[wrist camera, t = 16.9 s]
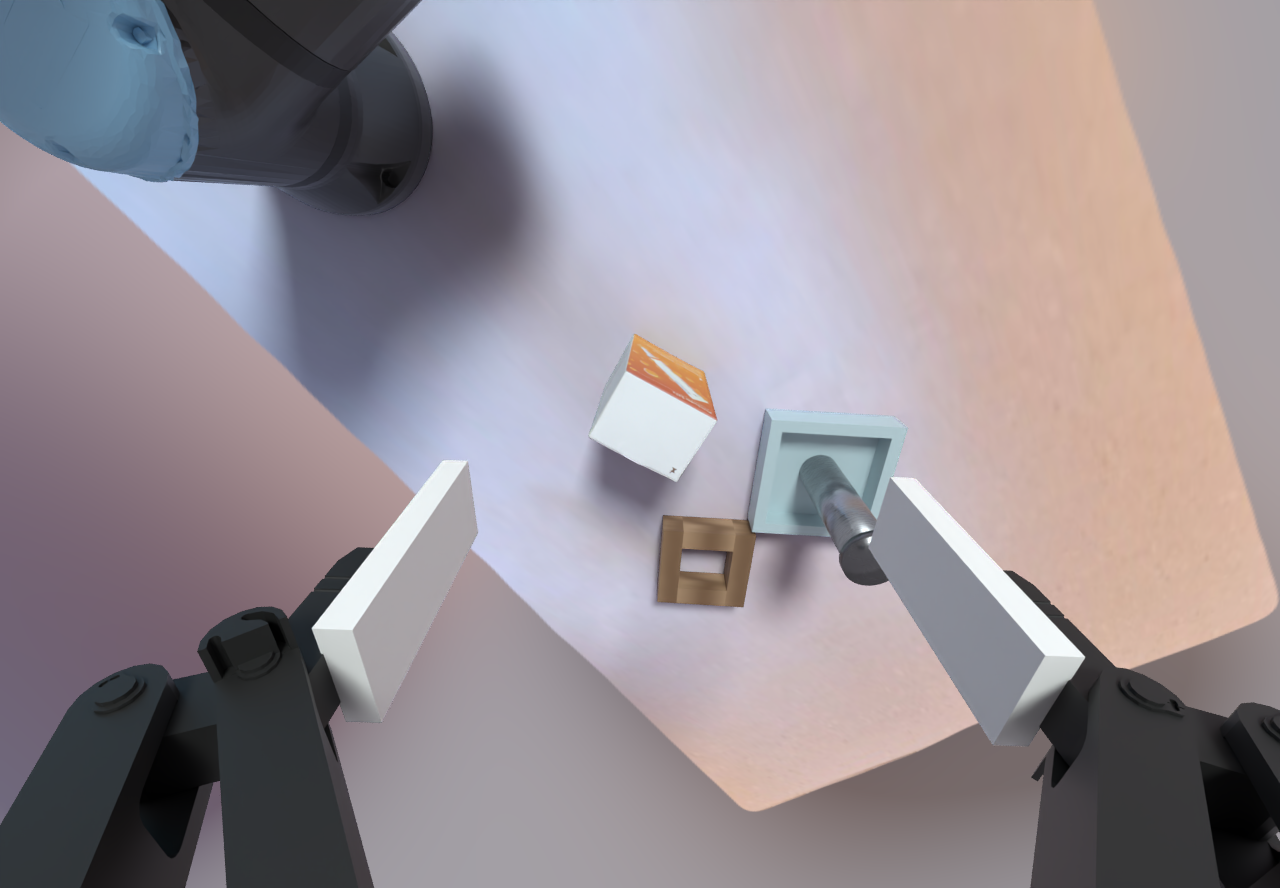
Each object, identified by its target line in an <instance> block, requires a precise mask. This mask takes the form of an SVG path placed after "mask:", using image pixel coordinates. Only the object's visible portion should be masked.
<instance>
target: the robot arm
mask: <svg viewBox="0 0 1280 888" xmlns="http://www.w3.org/2000/svg"><path fill="white" fill-rule="evenodd" d="M421 1H422V0H0V122H1V123H3V124H4V125H5V126H6V127H8V128H9V129H10V130H12V131H13V132H15V133H16V134H17V135H19V136H20V137H22V138H23V139H25V140H27V141H28V142H30V143H32V144H33V145H35V146H36V147H38V148H40V149H42V150H43V151H45V152H47V153H49V154H51V155H54V156H55V157H57V158H60V159H62V160H64V161H67V162H70V163H73V164H76V165H78V166H81V167H85V168H89V169H93V170H98V171H105V172H112V173H119V174H126V175H130V176H133V177H137V178H140V179H143V180H146V181H150V182H167V181H168V180H171V181H189V182H206V183H224V184H241V185H259V186H271V187H276V188H278V189H280V190H281V191H283V192H285V193H287V194H288V195H290V196H292V197H294V198H296V199H297V200H299V201H301V202H303V203H305V204H307V205H309V206H311V207H314V208H316V209H319V210H322V211H326V212H330V213H334V214H341V215H371V214H377V213H381V212H384V211H386V210H389V209H391V208H393V207H395V206H396V205H398V204H400V203H401V202H402V201H404V200H405V199H406V198H407V197H408V196H409V195H410V194H411V193H412V192H413V190H414V189H415V188H416V186H417V185H418V183H419V182H420V180H421V178H422V176H423V174H424V172H425V169H426V166H427V163H428V160H429V156H430V150H431V143H432V121H431V113H430V107H429V102H428V98H427V94H426V91H425V88H424V85H423V82H422V80H421V77H420V75H419V73H418V70H417V68H416V66H415V64H414V63H413V61H412V59H411V57H410V56H409V54H408V52H407V51H406V49H405V48H404V46H403V45H402V44H401V42H400V41H399V40H398V39H397V37H396V36H395V35H394V34H393V33H392V31H393V30H394V29H395V28H396V26H397V25H398V24H399V23H400V22H401V21H402V20H403V19H404V18H405V17H406V16H407V15H408V14H409V13H410V12H411V11H412V10H413V9H414V8H415V7H416V6H417V5H418V4H419V3H420V2H421ZM477 534H478V530H477V523H476V515H475V508H474V501H473V494H472V487H471V480H470V472H469V465H468V461H455V460H443V461H442V462H441V463H440V465H439V466H438V467H437V469H436V470H435V471H434V472H433V474H432V475H431V476H430V478H429V479H428V480H427V481H426V483H425V484H424V485H423V487H422V488H421V489H420V490H419V492H418V493H417V494H416V496H415V497H414V498H413V499H412V501H411V502H410V503H409V505H408V506H407V507H406V508H405V510H404V511H403V512H402V513H401V515H400V516H399V517H398V519H397V520H396V521H395V522H394V524H393V525H392V526H391V528H390V529H389V530H388V531H387V533H386V534H385V535H384V537H383V538H382V539H381V540H380V542H379V543H378V544H377V546H376V547H375V548H360V547H358V548H356V549H355V550H353V551H352V552H350V553H349V554H347V555H346V556H344V557H343V558H341V559H340V560H338V561H337V563H336V564H335V565H334V566H333V567H332V568H331V569H330V571H329V572H328V573H327V574H326V575H325V579H322V580H321V581H320V582H319V583H318V585H317V586H316V587H315V588H314V592H311V593H310V594H309V595H308V596H307V598H306V599H305V600H304V601H303V602H302V603H301V605H300V606H299V607H298V608H297V609H296V610H295V612H294V613H293V614H292V615H291V616H290V617H289V619H288V618H287V616H286V615H285V613H284V612H283V611H282V610H280V609H278V608H274V607H256V608H253V609H249V610H245V611H242V612H240V613H237V614H235V615H233V616H231V617H229V618H227V619H225V620H223V621H222V622H220V623H219V624H218V625H216V626H215V627H213V628H212V629H211V630H210V631H209V632H208V633H207V634H206V635H205V637H204V638H203V639H202V640H201V641H200V645H199V648H198V651H197V652H198V653H199V656H200V657H201V659H202V661H203V663H204V665H205V667H206V669H207V671H208V672H206V673H201V674H197V675H193V676H188V677H183V678H179V679H174V680H172V678H171V676H170V675H169V673H168V671H167V670H166V669H165V668H164V667H163V666H161V665H155V664H144V665H138V666H133V667H130V668H127V669H124V670H121V671H119V672H116V673H114V674H112V675H110V676H108V677H106V678H105V679H103V680H101V681H99V682H97V683H96V684H94V685H93V686H92V687H90V688H89V689H88V690H87V691H85V692H84V693H83V694H81V695H80V696H79V697H78V698H77V699H76V701H75V702H74V703H73V704H72V705H71V707H70V708H69V709H68V711H67V712H66V714H65V716H64V717H63V719H62V721H61V722H60V724H59V726H58V728H57V729H56V731H55V733H54V734H53V736H52V738H51V740H50V741H49V743H48V745H47V746H46V748H45V750H44V751H43V753H42V755H41V757H40V759H39V760H38V762H37V763H36V765H35V767H34V769H33V770H32V772H31V774H30V775H29V777H28V779H27V781H26V782H25V784H24V786H23V787H22V789H21V791H20V792H19V794H18V796H17V798H16V799H15V801H14V803H13V804H12V806H11V808H10V810H9V811H8V813H7V815H6V816H5V818H4V820H3V821H2V823H1V825H0V888H185V886H186V881H187V878H188V875H189V871H190V867H191V864H192V860H193V856H194V852H195V849H196V845H197V841H198V838H199V834H200V830H201V826H202V823H203V819H204V815H205V811H206V808H207V804H208V801H209V797H210V793H211V790H212V786H213V782H217V781H220V788H221V803H222V820H223V836H224V851H225V868H226V885H227V888H374V886H373V882H372V878H371V875H370V871H369V867H368V864H367V860H366V856H365V852H364V849H363V845H362V841H361V837H360V834H359V830H358V827H357V823H356V819H355V815H354V811H353V808H352V804H351V801H350V797H349V793H348V789H347V785H346V782H345V778H344V774H343V771H342V767H341V763H340V760H339V756H338V752H337V749H336V745H335V741H334V737H333V734H332V730H331V727H330V725H329V721H330V719H331V717H332V716H333V714H334V712H335V711H336V709H337V707H338V706H339V704H340V707H341V709H342V712H343V715H344V718H345V720H346V722H372V723H382V721H383V720H384V718H385V716H386V714H387V712H388V710H389V707H390V706H391V704H392V702H393V700H394V698H395V696H396V694H397V692H398V690H399V688H400V686H401V684H402V682H403V680H404V678H405V676H406V674H407V672H408V670H409V668H410V666H411V664H412V662H413V660H414V658H415V656H416V654H417V652H418V650H419V648H420V646H421V645H422V643H423V641H424V639H425V637H426V635H427V633H428V630H429V629H430V627H431V625H432V623H433V621H434V619H435V617H436V615H437V613H438V611H439V609H440V607H441V605H442V603H443V601H444V599H445V597H446V595H447V593H448V591H449V589H450V587H451V585H452V583H453V581H454V579H455V577H456V575H457V573H458V571H459V569H460V568H461V565H462V564H463V562H464V559H465V558H466V556H467V554H468V552H469V550H470V548H471V546H472V544H473V542H474V540H475V538H476V536H477ZM868 548H869V550H870V551H871V553H872V554H873V556H874V558H875V559H876V561H877V562H878V564H879V565H880V567H881V569H882V570H883V572H884V573H885V575H886V577H887V578H888V580H889V581H890V583H891V584H892V586H893V588H894V589H895V591H896V592H897V594H898V596H899V597H900V599H901V600H902V602H903V603H904V605H905V607H906V608H907V610H908V611H909V613H910V615H911V616H912V618H913V619H914V621H915V623H916V624H917V626H918V627H919V629H920V630H921V632H922V634H923V635H924V637H925V638H926V640H927V642H928V643H929V645H930V646H931V648H932V649H933V651H934V653H935V654H936V656H937V657H938V659H939V661H940V662H941V664H942V665H943V667H944V668H945V670H946V672H947V673H948V675H949V676H950V678H951V680H952V681H953V683H954V684H955V686H956V688H957V689H958V691H959V692H960V694H961V695H962V697H963V699H964V700H965V702H966V703H967V705H968V707H969V708H970V710H971V711H972V713H973V714H974V716H975V718H976V719H977V721H978V722H979V724H980V726H981V727H982V729H983V730H984V732H985V733H986V735H987V737H988V738H989V740H990V741H991V743H992V745H1003V746H1004V745H1005V746H1029V745H1030V743H1031V741H1032V740H1033V738H1034V737H1035V735H1036V734H1037V732H1038V731H1039V729H1040V728H1041V729H1042V731H1043V732H1044V733H1045V735H1046V736H1047V738H1049V740H1050V742H1051V743H1052V744H1053V745H1052V746H1051V748H1050V749H1049V751H1048V752H1047V754H1046V755H1045V757H1044V758H1043V760H1042V761H1041V763H1040V764H1039V766H1038V767H1037V769H1036V770H1035V772H1034V774H1033V775H1032V778H1033V779H1035V780H1037V781H1038V780H1039V779H1040V777H1041V776H1042V775H1044V777H1043V786H1042V794H1041V802H1040V811H1039V819H1038V829H1037V836H1036V845H1035V853H1034V863H1033V870H1032V879H1031V888H1280V841H1279V839H1278V837H1277V836H1276V833H1277V832H1280V710H1277V709H1275V708H1272V707H1270V706H1266V705H1261V704H1257V703H1242V704H1240V705H1239V706H1238V707H1237V709H1236V710H1235V711H1234V712H1233V713H1232V714H1231V715H1230V716H1229V718H1226V717H1223V716H1220V715H1216V714H1212V713H1209V712H1205V711H1202V710H1198V709H1194V708H1190V707H1187V706H1185V705H1184V703H1182V701H1181V700H1180V699H1179V698H1178V697H1177V696H1176V695H1175V694H1173V693H1172V692H1171V691H1169V690H1168V689H1167V688H1165V687H1164V686H1163V685H1161V684H1160V683H1158V682H1156V681H1154V680H1152V679H1150V678H1148V677H1147V676H1145V675H1143V674H1139V673H1137V672H1134V671H1131V670H1128V669H1124V668H1116V667H1115V666H1114V665H1113V664H1112V663H1111V662H1110V661H1109V660H1108V659H1107V658H1106V657H1105V656H1104V655H1103V654H1102V653H1101V652H1100V651H1099V650H1098V649H1097V648H1096V647H1095V646H1094V645H1093V644H1092V643H1091V642H1090V641H1089V640H1088V639H1087V638H1086V637H1085V636H1084V635H1083V634H1082V633H1081V632H1080V631H1079V630H1078V629H1077V628H1076V627H1075V626H1074V625H1073V624H1072V623H1071V622H1070V621H1069V620H1068V619H1065V618H1064V615H1063V614H1062V613H1061V612H1060V611H1059V610H1058V609H1057V608H1056V607H1055V606H1054V605H1051V604H1050V601H1049V600H1048V599H1047V598H1046V597H1045V596H1044V595H1043V594H1042V593H1041V592H1040V591H1039V590H1038V589H1037V588H1036V587H1035V586H1034V585H1033V584H1031V583H1030V582H1028V581H1027V580H1025V579H1024V578H1022V577H1021V576H1019V575H1018V574H1016V573H1015V572H1013V571H1004V570H1002V569H1001V568H1000V567H999V566H998V565H997V564H996V563H995V562H994V561H993V560H992V559H991V558H990V556H989V555H988V554H987V553H986V552H985V551H984V550H983V549H982V548H981V547H980V546H979V545H978V544H977V543H976V542H975V541H974V540H973V539H972V538H971V537H970V536H969V534H968V533H967V532H966V531H965V530H964V529H963V528H962V527H961V526H960V525H959V524H958V523H957V522H956V521H955V520H954V519H953V518H952V517H951V516H950V515H949V513H948V512H947V511H946V510H945V509H944V508H943V507H942V506H941V505H940V504H939V503H938V502H937V501H936V500H935V499H934V498H933V497H932V496H931V495H930V494H929V493H928V491H927V490H926V489H925V488H924V487H923V486H922V485H921V484H920V483H919V482H918V481H917V480H916V479H915V478H899V477H890V479H889V483H888V486H887V489H886V492H885V496H884V499H883V502H882V505H881V509H880V512H879V515H878V518H877V521H876V525H875V528H874V531H873V534H872V538H871V541H870V544H869V547H868Z"/></svg>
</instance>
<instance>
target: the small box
mask: <svg viewBox="0 0 1280 888" xmlns="http://www.w3.org/2000/svg"><path fill="white" fill-rule="evenodd" d="M716 422H717V418H716V414H715V410H714V407H713V403H712V399H711V395H710V391H709V388H708V384H707V381H706V377H705V373H704V372H703V371H701V370H699V369H697V368H695V367H693V366H691V365H689V364H688V363H686V362H684V361H682V360H680V359H678V358H677V357H675V356H673V355H671V354H669V353H668V352H666V351H664V350H662V349H660V348H659V347H657V346H655V345H653V344H652V343H650V342H648V341H646V340H645V339H643V338H641V337H639V336H638V335H636V334H634V335H633V336H632V338H631V340H630V342H629V343H628V345H627V347H626V349H625V351H624V353H623V354H622V356H621V358H620V360H619V362H618V363H617V365H616V367H615V369H614V371H613V373H612V374H611V376H610V378H609V380H608V382H607V383H606V385H605V388H604V390H603V393H602V396H601V399H600V402H599V406H598V409H597V412H596V415H595V418H594V421H593V424H592V427H591V429H590V432H589V435H588V436H589V438H590V439H592V440H594V441H596V442H598V443H600V444H602V445H603V446H605V447H607V448H609V449H611V450H613V451H615V452H617V453H619V454H621V455H622V456H624V457H626V458H628V459H629V460H631V461H633V462H635V463H637V464H639V465H641V466H643V467H646V468H648V469H651V470H653V471H655V472H657V473H659V474H661V475H663V476H665V477H667V478H669V479H671V480H673V481H675V482H677V481H678V480H679V478H680V476H681V475H682V473H683V472H684V470H685V469H686V467H687V466H688V464H689V462H690V461H691V459H692V458H693V456H694V455H695V453H696V452H697V450H698V449H699V447H700V446H701V444H702V443H703V441H704V440H705V438H706V437H707V435H708V434H709V432H710V431H711V429H712V428H713V426H714V425H715V424H716Z"/></svg>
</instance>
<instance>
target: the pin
mask: <svg viewBox="0 0 1280 888" xmlns="http://www.w3.org/2000/svg"><path fill="white" fill-rule="evenodd" d="M799 477H800V480H801V482H802V484H803V486H804V487H805V489H806V491H807V493H808V495H809V497H810V499H811V501H812V502H813V504H814V506H815V508H816V510H817V512H818V514H819V516H820V517H821V519H822V521H823V523H824V525H825V527H826V529H827V531H828V532H829V534H830V536H831V538H832V540H833V542H834V544H835V546H836V547H837V549H838V551H839V553H840V554H839V563H840V566H841V568H842V570H843V572H844V573H845V575H846V576H847V578H848V579H849V580H851V581H852V582H854V583H857V584H860V585H869V586H870V585H878V584H881V583H884V582H887V581H889V580H888V578H887V577H886V575H885V573H884V572H883V570H882V569H881V567H880V565H879V564H878V562H877V561H876V559H875V558H874V556H873V554H872V553H871V551H870V550H869V548H868V547H869V544H870V541H871V538H872V534H873V531H874V528H875V525H876V521H877V520H876V518H875V517H874V515H873V514H872V513H871V511H870V510H869V508H868V507H867V506H866V504H865V503H864V501H863V500H862V499H861V497H860V496H859V494H858V493H857V492H856V490H855V489H854V487H853V486H852V485H851V483H850V482H849V480H848V479H847V478H846V476H845V475H844V473H843V472H842V471H841V469H840V468H839V466H838V465H837V463H836V462H835V461H834V460H833V459H832V458H831V457H829V456H826V455H816V456H813V457H810V458H809V459H807V460H806V461H805V462H804V463H803V464H802V465H801V467H800V470H799Z"/></svg>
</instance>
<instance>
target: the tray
mask: <svg viewBox="0 0 1280 888" xmlns="http://www.w3.org/2000/svg"><path fill="white" fill-rule="evenodd" d="M907 430H908V427H906V426H905V425H904V424H903V423H902V422H901V421H899V420H898V419H897V418H896V417H895V416H881V415H864V414H847V413H829V412H812V411H795V410H778V409H766V411H765V416H764V422H763V428H762V434H761V440H760V446H759V452H758V458H757V464H756V470H755V476H754V482H753V487H752V493H751V499H750V505H749V511H748V520H749V523H750V526H751V530H752V532H758V533H774V534H791V535H807V536H824V537H831V536H830V534H829V532H828V531H827V529H826V527H825V525H824V523H823V521H822V519H821V517H820V516H819V514H818V512H817V510H816V508H815V506H814V504H813V502H812V501H811V499H810V497H809V495H808V493H807V491H806V489H805V487H804V486H803V484H802V482H801V480H800V477H799V470H800V467H801V465H802V464H803V463H804V462H805V461H806V460H807V459H809V458H810V457H813V456H816V455H826V456H829V457H831V458H832V459H833V460H834V461H835V462H836V463H837V465H838V466H839V468H840V469H841V471H842V472H843V473H844V475H845V476H846V478H847V479H848V480H849V482H850V483H851V485H852V486H853V487H854V489H855V490H856V492H857V493H858V494H859V496H860V497H861V499H862V500H863V501H864V503H865V504H866V506H867V507H868V508H869V510H870V511H871V513H872V514H873V515H874V517H875V518H876V520H877V518H878V515H879V512H880V509H881V505H882V502H883V499H884V496H885V492H886V489H887V486H888V483H889V479H890V477H893V475H894V472H895V469H896V466H897V462H898V459H899V456H900V453H901V449H902V446H903V443H904V439H905V436H906V433H907Z"/></svg>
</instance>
